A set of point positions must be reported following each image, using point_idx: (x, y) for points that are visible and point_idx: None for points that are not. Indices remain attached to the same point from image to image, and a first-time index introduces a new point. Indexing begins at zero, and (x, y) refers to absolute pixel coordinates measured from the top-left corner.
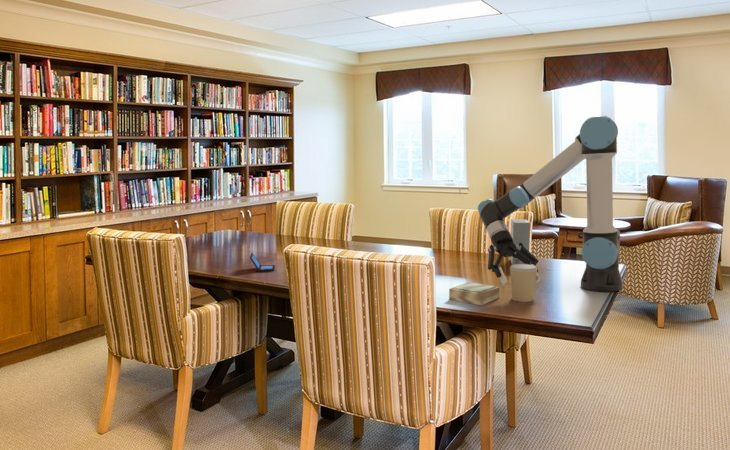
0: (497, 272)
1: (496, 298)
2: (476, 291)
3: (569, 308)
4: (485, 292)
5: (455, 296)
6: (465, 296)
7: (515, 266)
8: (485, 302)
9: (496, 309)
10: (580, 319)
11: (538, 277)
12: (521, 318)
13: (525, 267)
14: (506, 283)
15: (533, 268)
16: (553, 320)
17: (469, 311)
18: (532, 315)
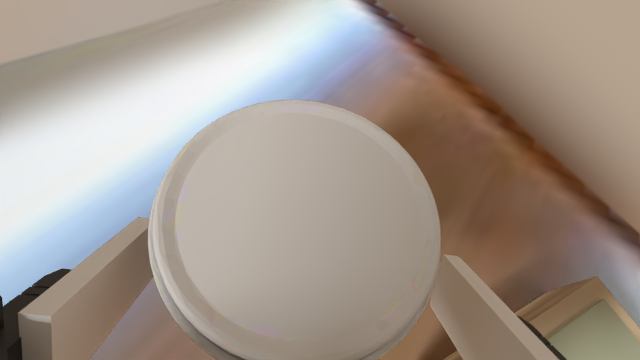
0: (546, 340)
1: None
2: (625, 326)
3: (220, 77)
4: (564, 298)
5: None
6: None
7: (379, 261)
8: (521, 310)
9: (500, 202)
10: (296, 3)
11: (145, 224)
12: (458, 85)
13: (313, 168)
14: (440, 271)
15: (280, 100)
16: (376, 32)
17: (616, 232)
18: (406, 88)
